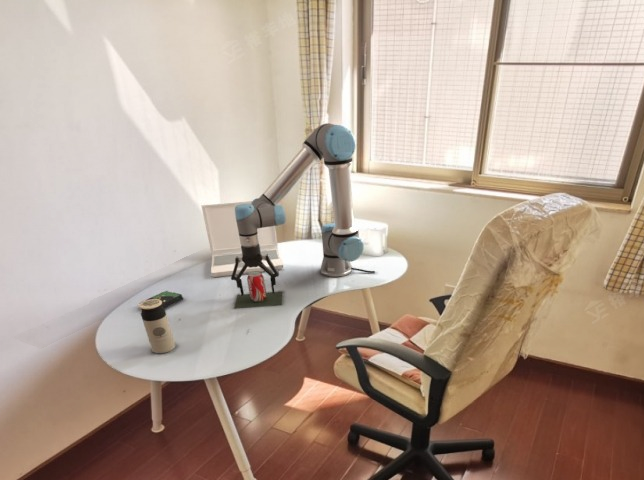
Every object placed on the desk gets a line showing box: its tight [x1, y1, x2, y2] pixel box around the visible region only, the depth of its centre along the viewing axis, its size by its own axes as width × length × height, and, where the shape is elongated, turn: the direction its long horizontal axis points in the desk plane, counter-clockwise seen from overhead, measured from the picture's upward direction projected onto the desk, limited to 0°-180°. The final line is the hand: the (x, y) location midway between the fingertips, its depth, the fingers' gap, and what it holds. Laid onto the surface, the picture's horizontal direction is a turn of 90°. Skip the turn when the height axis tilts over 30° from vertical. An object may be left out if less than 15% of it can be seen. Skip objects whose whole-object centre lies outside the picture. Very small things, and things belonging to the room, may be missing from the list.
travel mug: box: [138, 299, 176, 354], centre depth 163 cm, size 8×8×18 cm
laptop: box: [201, 200, 284, 278], centre depth 229 cm, size 35×26×28 cm
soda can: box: [246, 271, 267, 302], centre depth 197 cm, size 7×7×12 cm
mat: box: [233, 291, 283, 309], centre depth 201 cm, size 20×14×1 cm
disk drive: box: [138, 290, 184, 310], centre depth 200 cm, size 10×3×15 cm
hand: (258, 293), depth 199 cm, fingers open, 13 cm apart
